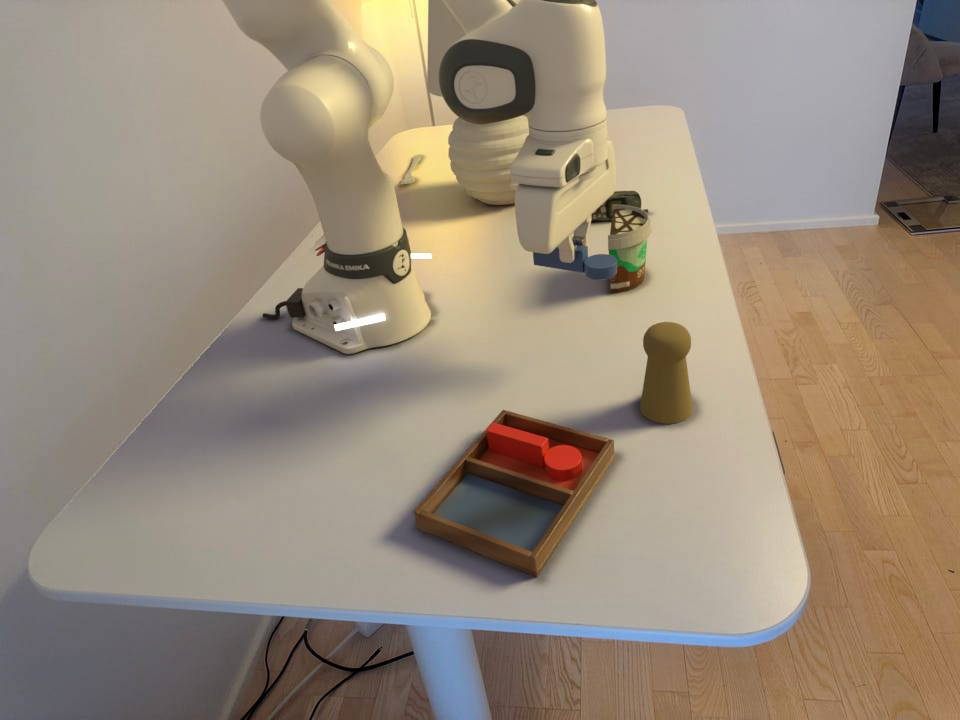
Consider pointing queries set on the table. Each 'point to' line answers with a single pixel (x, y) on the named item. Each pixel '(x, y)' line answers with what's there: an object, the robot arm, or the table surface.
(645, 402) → the brown game pawn
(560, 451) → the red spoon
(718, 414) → the table surface
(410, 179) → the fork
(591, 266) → the blue block with disc
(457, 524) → the sorting tray
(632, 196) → the mobile phone
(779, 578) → the table surface
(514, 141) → the table lamp
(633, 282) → the food container
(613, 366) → the table surface
